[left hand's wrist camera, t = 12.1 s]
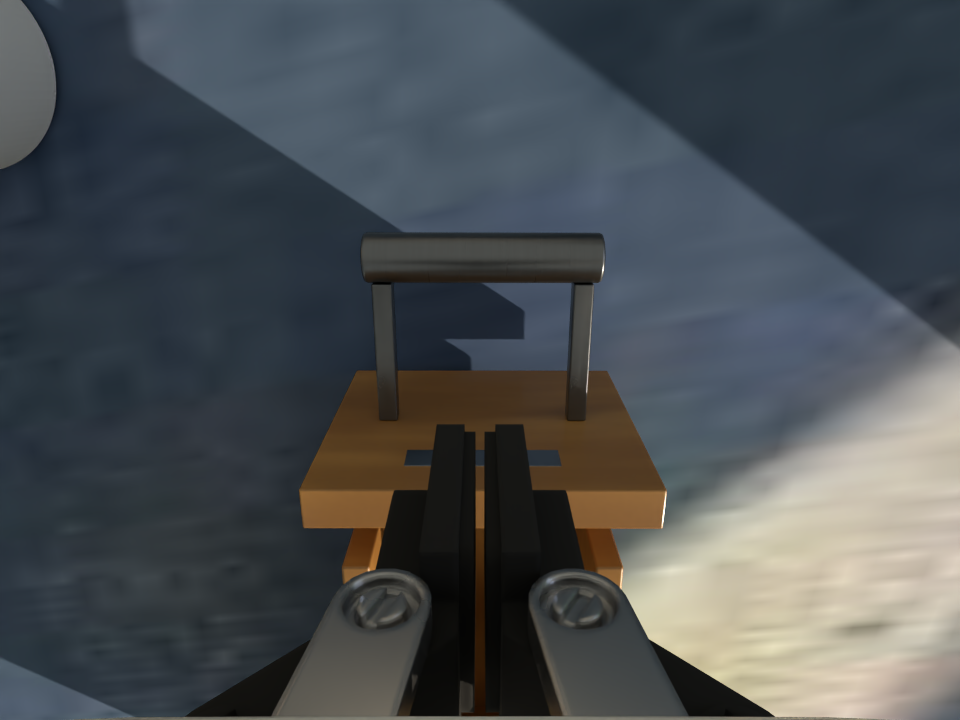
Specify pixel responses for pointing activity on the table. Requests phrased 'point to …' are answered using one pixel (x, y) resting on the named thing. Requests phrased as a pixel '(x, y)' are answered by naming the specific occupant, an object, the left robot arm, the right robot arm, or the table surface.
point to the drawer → (483, 411)
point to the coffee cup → (23, 83)
